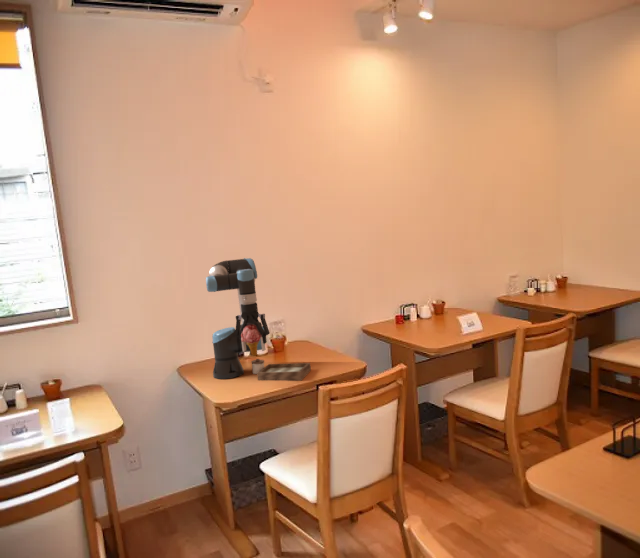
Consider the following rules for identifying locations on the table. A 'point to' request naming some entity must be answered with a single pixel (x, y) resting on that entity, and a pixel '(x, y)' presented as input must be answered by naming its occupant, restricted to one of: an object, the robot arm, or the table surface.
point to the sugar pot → (257, 365)
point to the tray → (284, 372)
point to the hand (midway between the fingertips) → (254, 350)
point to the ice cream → (251, 337)
